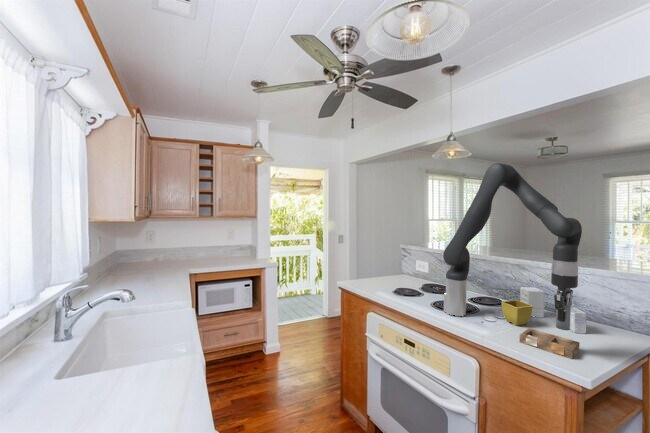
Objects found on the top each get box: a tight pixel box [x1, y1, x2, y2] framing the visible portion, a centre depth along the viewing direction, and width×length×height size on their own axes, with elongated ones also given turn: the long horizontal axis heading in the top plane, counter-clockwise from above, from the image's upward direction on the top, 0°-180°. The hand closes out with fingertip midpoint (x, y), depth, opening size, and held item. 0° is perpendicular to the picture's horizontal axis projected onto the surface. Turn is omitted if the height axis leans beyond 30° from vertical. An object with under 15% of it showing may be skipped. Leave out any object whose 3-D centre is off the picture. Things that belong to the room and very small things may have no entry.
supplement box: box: [519, 286, 546, 318], centre depth 145 cm, size 7×7×13 cm
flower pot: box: [501, 299, 533, 327], centre depth 135 cm, size 9×9×9 cm
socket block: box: [519, 327, 580, 360], centre depth 113 cm, size 16×10×3 cm, turn 39°
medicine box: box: [569, 306, 587, 335], centre depth 128 cm, size 8×4×9 cm, turn 168°
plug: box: [555, 301, 572, 331], centre depth 109 cm, size 4×4×10 cm
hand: (563, 319), depth 109 cm, fingers closed on plug, 4 cm apart
